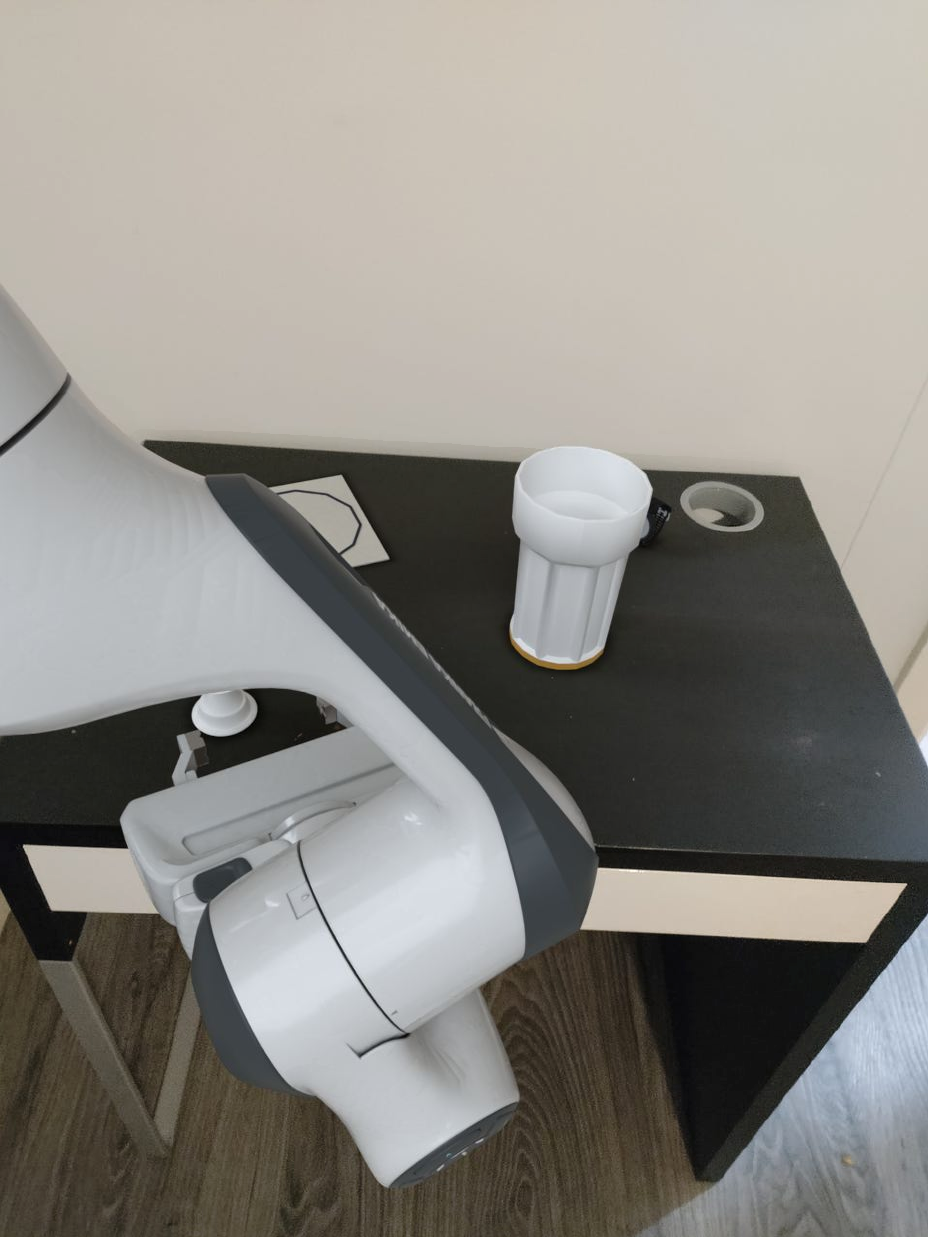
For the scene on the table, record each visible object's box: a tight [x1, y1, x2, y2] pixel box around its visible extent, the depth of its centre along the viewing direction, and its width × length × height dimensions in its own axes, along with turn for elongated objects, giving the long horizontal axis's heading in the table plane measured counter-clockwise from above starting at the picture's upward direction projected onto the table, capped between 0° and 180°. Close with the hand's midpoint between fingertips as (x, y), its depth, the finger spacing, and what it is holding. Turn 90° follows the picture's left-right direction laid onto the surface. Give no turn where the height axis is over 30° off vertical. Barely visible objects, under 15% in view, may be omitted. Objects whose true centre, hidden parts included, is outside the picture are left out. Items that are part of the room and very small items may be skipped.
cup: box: [509, 445, 654, 671], centre depth 82 cm, size 11×11×17 cm
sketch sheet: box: [268, 474, 390, 568], centre depth 97 cm, size 20×16×1 cm
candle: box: [191, 689, 258, 737], centre depth 74 cm, size 5×5×12 cm
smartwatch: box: [638, 496, 673, 547], centre depth 98 cm, size 4×5×5 cm
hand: (259, 716), depth 62 cm, fingers open, 8 cm apart
